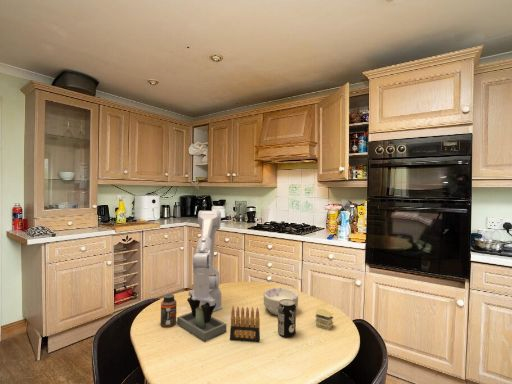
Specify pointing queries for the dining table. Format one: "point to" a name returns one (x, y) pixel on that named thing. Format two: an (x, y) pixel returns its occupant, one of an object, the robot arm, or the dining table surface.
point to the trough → (211, 330)
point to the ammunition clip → (245, 326)
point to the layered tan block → (323, 319)
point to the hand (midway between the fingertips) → (201, 318)
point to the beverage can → (286, 318)
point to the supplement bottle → (168, 311)
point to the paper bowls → (278, 298)
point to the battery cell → (200, 318)
